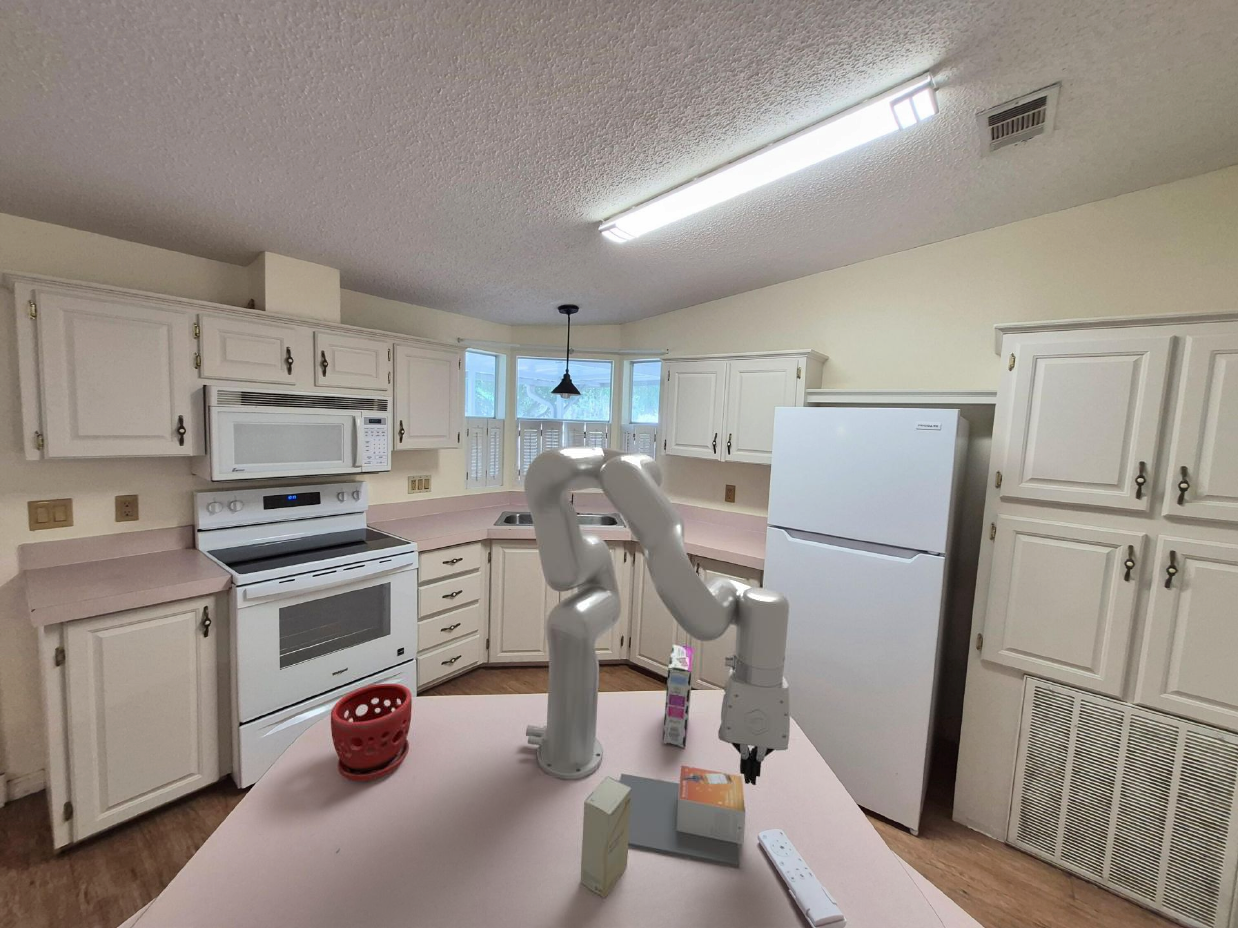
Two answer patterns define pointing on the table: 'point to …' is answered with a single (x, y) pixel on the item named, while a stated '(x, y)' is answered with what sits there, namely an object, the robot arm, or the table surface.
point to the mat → (669, 824)
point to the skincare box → (605, 835)
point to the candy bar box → (678, 696)
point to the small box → (711, 804)
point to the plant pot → (371, 731)
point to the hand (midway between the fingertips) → (749, 777)
